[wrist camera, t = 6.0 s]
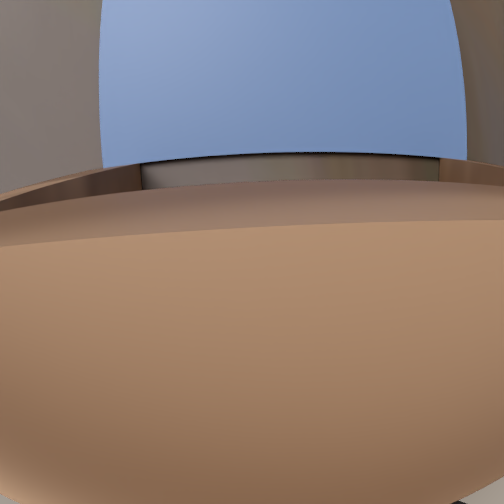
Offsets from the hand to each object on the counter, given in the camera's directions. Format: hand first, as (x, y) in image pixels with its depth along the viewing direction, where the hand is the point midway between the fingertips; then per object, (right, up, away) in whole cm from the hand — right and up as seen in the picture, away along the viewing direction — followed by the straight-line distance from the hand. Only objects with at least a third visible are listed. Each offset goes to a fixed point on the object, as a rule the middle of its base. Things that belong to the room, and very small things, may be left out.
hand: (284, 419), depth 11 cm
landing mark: (0, +16, -4) cm, 16 cm away
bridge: (0, +8, -1) cm, 8 cm away
